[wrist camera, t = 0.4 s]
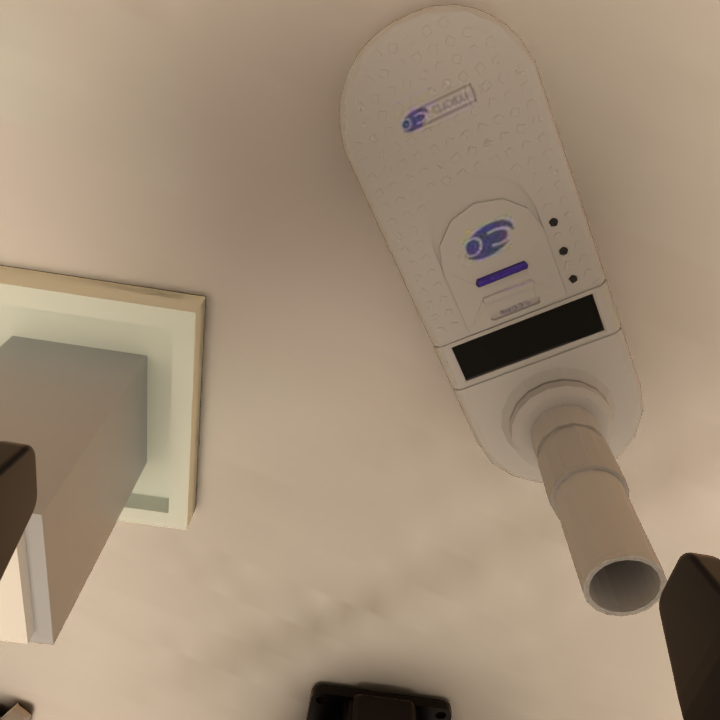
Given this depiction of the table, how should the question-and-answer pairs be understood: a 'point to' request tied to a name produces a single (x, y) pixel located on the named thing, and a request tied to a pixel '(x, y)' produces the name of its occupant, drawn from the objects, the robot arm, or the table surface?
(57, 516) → the plug
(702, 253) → the table surface
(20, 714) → the electrical switch
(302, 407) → the table surface
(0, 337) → the tray
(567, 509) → the electronic device
